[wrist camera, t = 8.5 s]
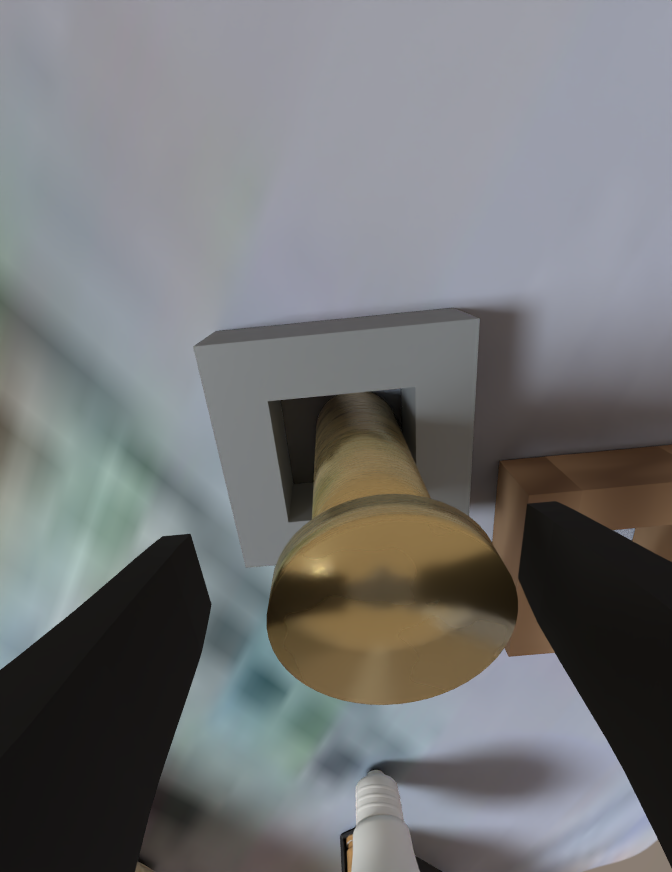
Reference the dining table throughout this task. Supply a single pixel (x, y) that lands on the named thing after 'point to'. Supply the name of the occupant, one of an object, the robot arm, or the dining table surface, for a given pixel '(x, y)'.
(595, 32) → the dining table surface
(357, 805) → the lightbulb
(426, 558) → the pin
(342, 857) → the ammunition clip
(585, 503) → the brown wooden square frame
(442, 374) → the socket block
